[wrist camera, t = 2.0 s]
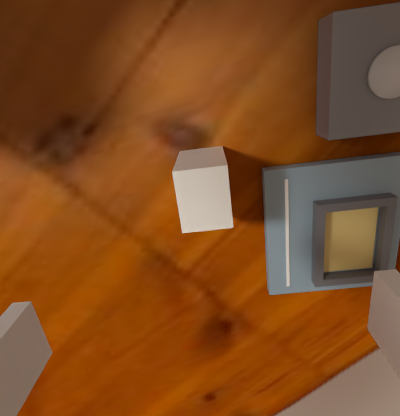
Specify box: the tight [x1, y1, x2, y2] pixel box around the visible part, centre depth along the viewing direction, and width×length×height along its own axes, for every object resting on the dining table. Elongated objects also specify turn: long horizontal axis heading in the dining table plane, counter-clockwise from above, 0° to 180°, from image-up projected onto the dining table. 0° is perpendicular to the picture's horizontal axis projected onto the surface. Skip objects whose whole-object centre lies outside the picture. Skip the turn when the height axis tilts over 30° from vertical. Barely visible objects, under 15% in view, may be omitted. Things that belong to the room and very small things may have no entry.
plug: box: [172, 146, 233, 233], centre depth 26 cm, size 6×4×7 cm
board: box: [262, 152, 400, 295], centre depth 30 cm, size 14×13×2 cm
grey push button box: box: [316, 2, 400, 141], centre depth 24 cm, size 9×9×3 cm
